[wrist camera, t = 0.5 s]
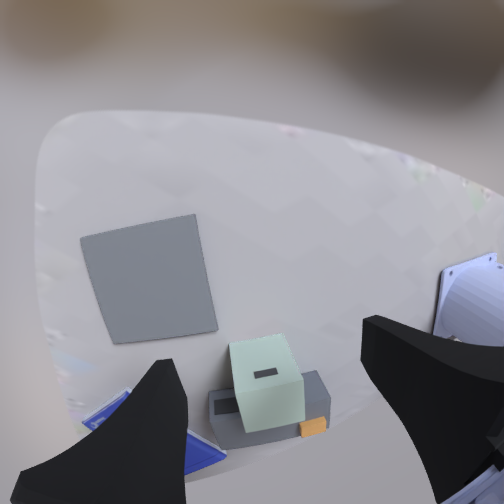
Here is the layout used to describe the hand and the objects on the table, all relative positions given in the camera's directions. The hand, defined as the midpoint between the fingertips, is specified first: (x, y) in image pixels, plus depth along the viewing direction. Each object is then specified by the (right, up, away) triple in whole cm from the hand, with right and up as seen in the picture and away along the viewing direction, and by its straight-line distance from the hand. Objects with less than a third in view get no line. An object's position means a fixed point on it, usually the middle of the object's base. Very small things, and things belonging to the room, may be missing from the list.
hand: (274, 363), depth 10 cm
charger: (0, -4, +11) cm, 12 cm away
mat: (-8, +2, +8) cm, 11 cm away
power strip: (0, -8, +12) cm, 15 cm away
